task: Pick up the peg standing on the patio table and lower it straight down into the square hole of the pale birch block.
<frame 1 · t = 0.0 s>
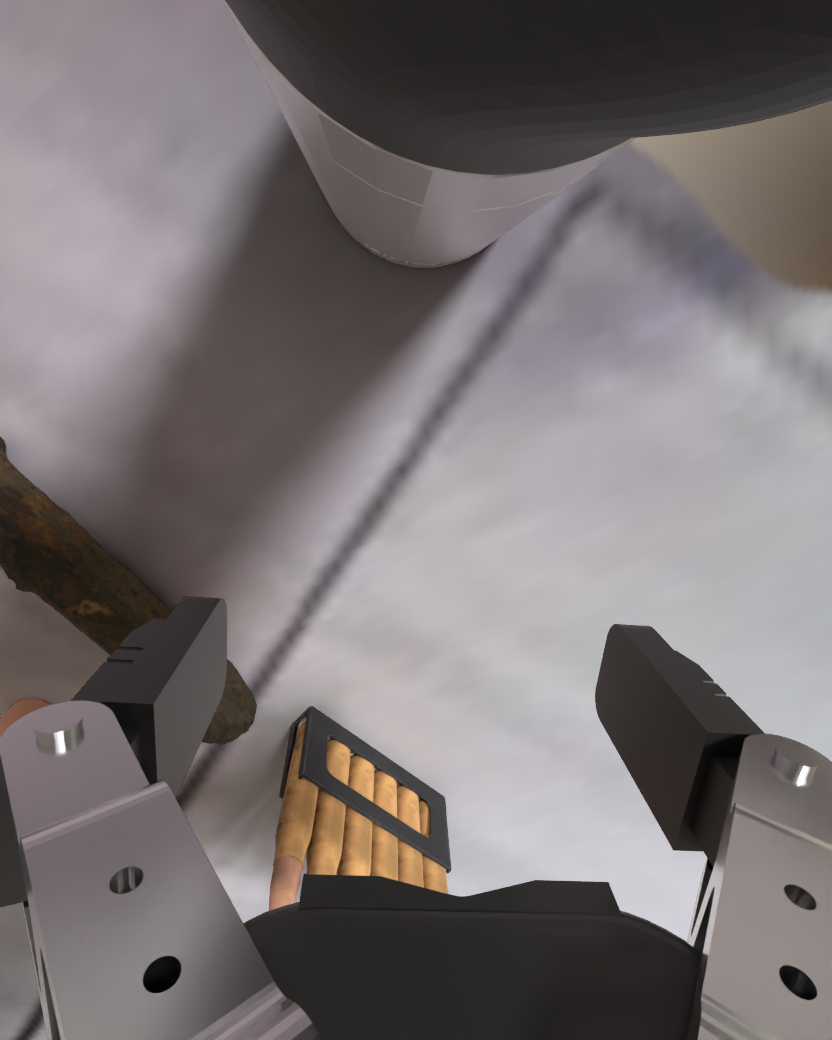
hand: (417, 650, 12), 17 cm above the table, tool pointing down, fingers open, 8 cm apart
peg: (36, 720, 32), on the table
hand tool: (138, 579, 30), on the table
ammunition clip: (371, 760, 34), on the table
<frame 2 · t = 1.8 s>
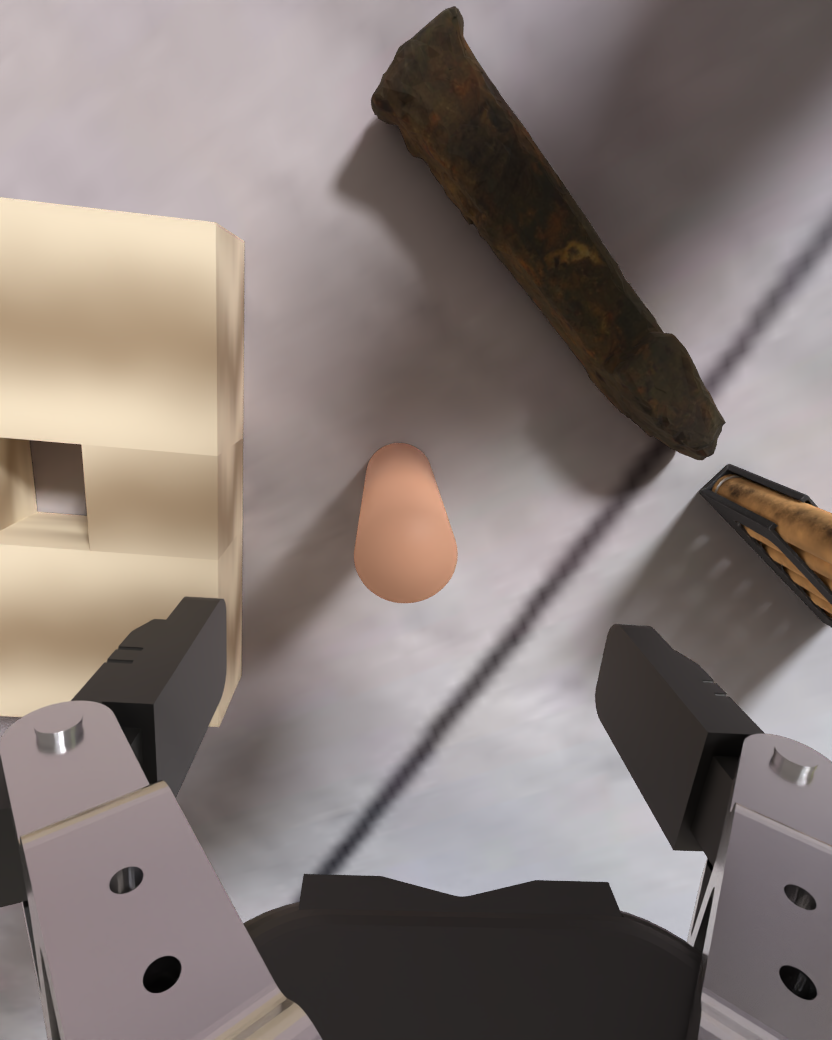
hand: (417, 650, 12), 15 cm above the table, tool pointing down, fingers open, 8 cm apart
peg: (399, 475, 26), on the table
hole block: (81, 470, 25), on the table
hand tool: (562, 274, 24), on the table
ammunition clip: (776, 546, 28), on the table
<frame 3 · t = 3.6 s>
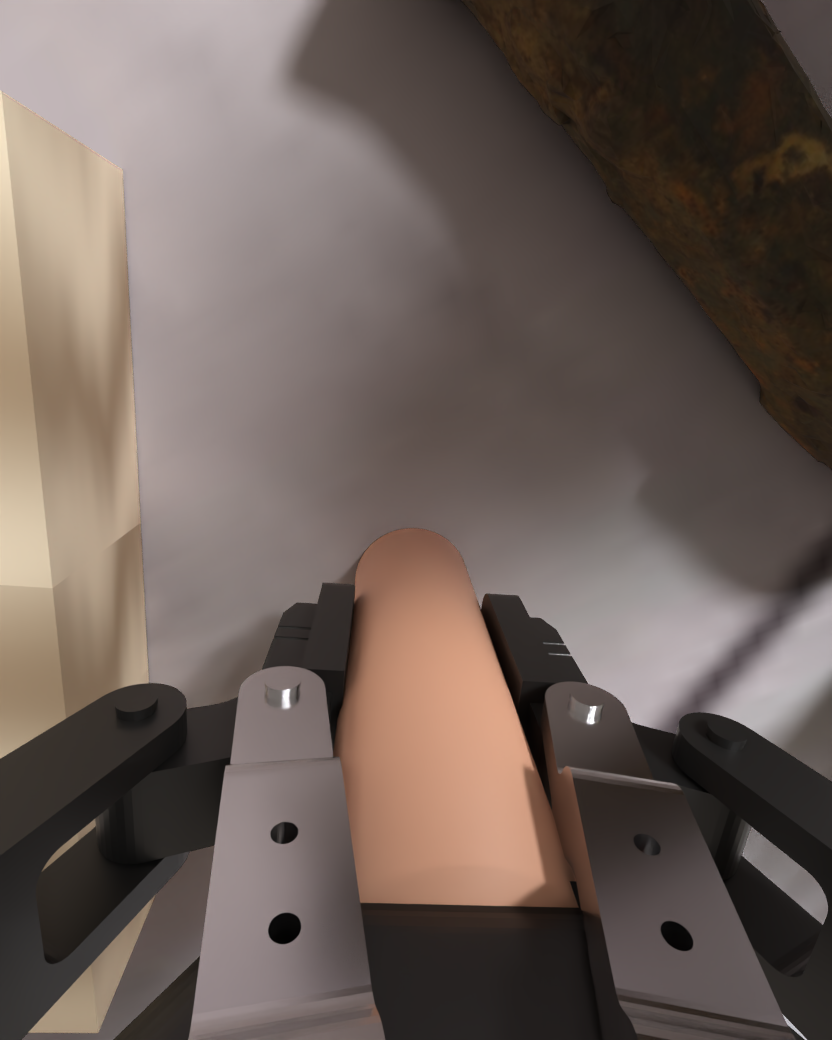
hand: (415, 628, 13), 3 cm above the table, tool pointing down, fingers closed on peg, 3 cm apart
peg: (411, 581, 15), on the table, touching gripper
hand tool: (715, 222, 13), on the table
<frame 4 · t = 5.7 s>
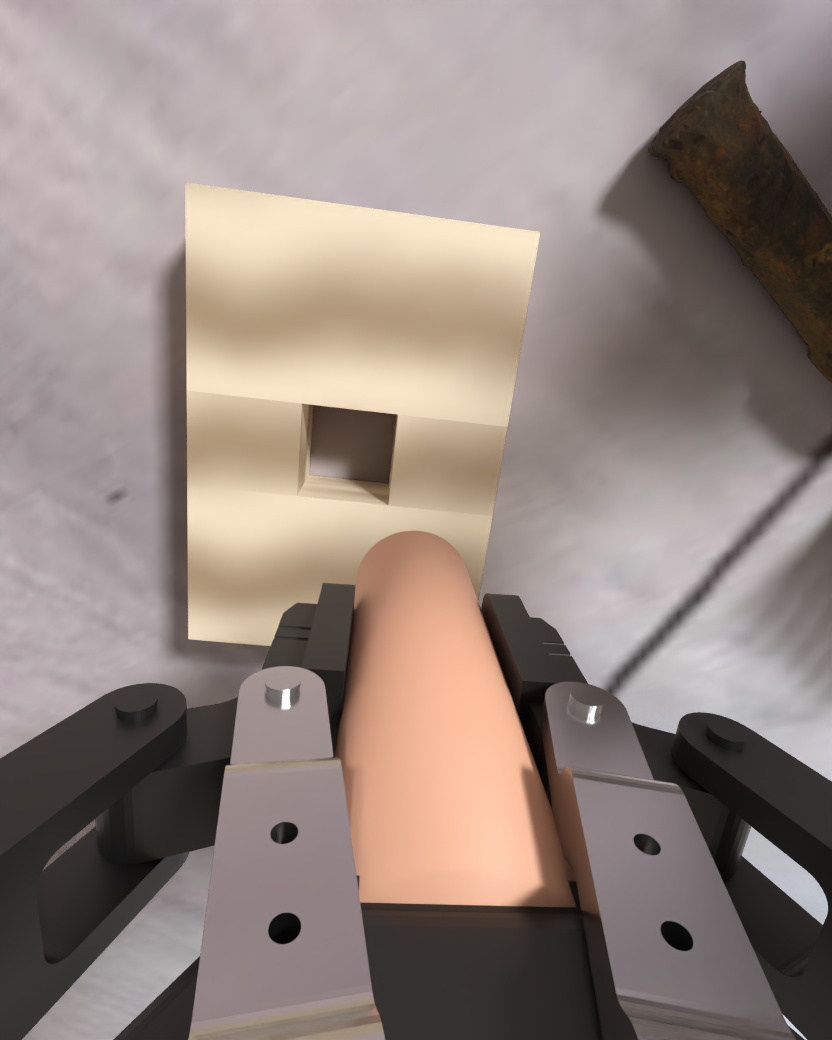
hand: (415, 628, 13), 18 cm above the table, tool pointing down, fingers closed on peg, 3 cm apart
peg: (412, 583, 15), point 15 cm above the table, touching gripper
hole block: (352, 439, 29), on the table
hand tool: (787, 270, 28), on the table
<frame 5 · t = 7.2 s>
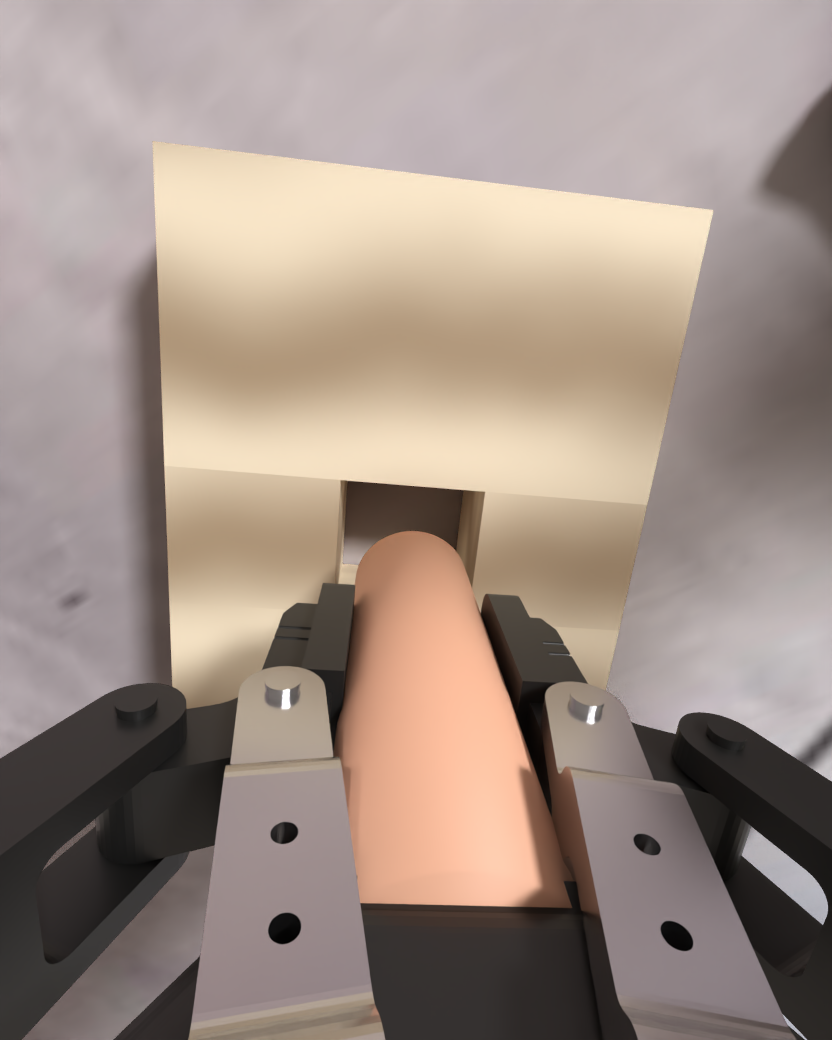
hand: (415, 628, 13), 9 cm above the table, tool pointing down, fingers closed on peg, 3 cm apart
peg: (411, 583, 15), point 6 cm above the table, touching gripper
hole block: (403, 514, 21), on the table
when the fingers open (5 cm above the table, at t = 8.1 s): peg drops 2 cm, resting in hole block.
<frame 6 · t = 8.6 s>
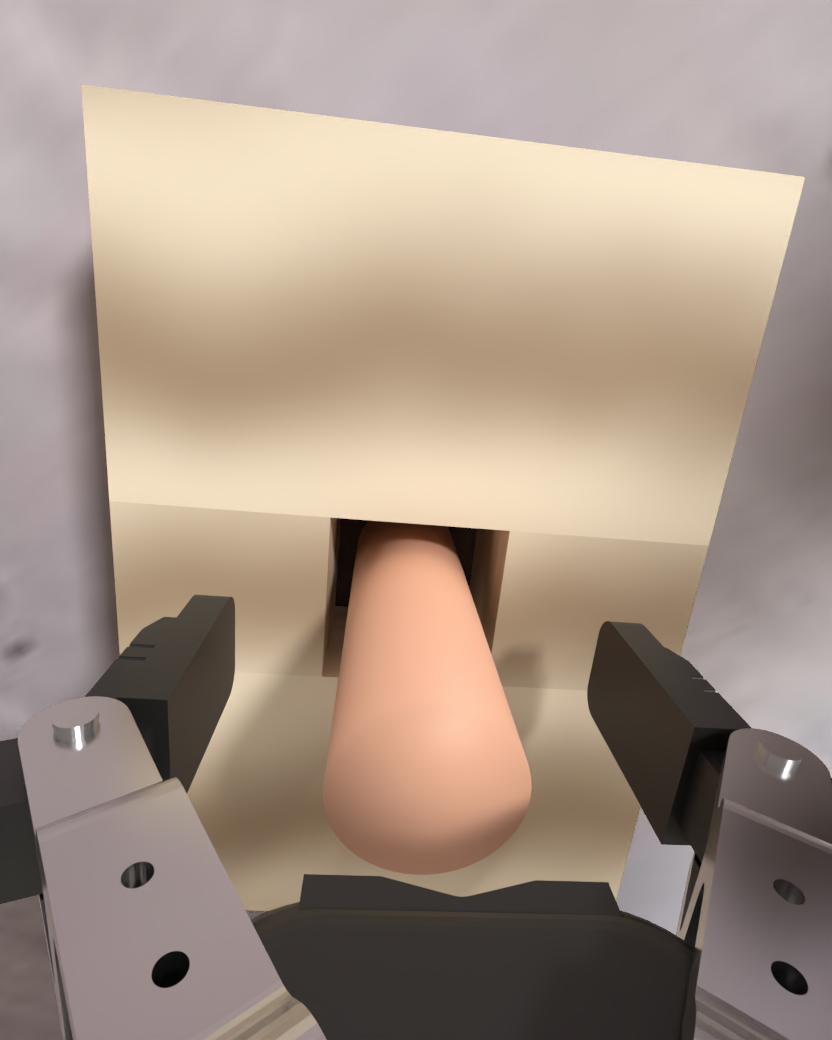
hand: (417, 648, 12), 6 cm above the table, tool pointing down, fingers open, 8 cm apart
peg: (405, 550, 18), resting in hole block
hole block: (406, 548, 18), on the table
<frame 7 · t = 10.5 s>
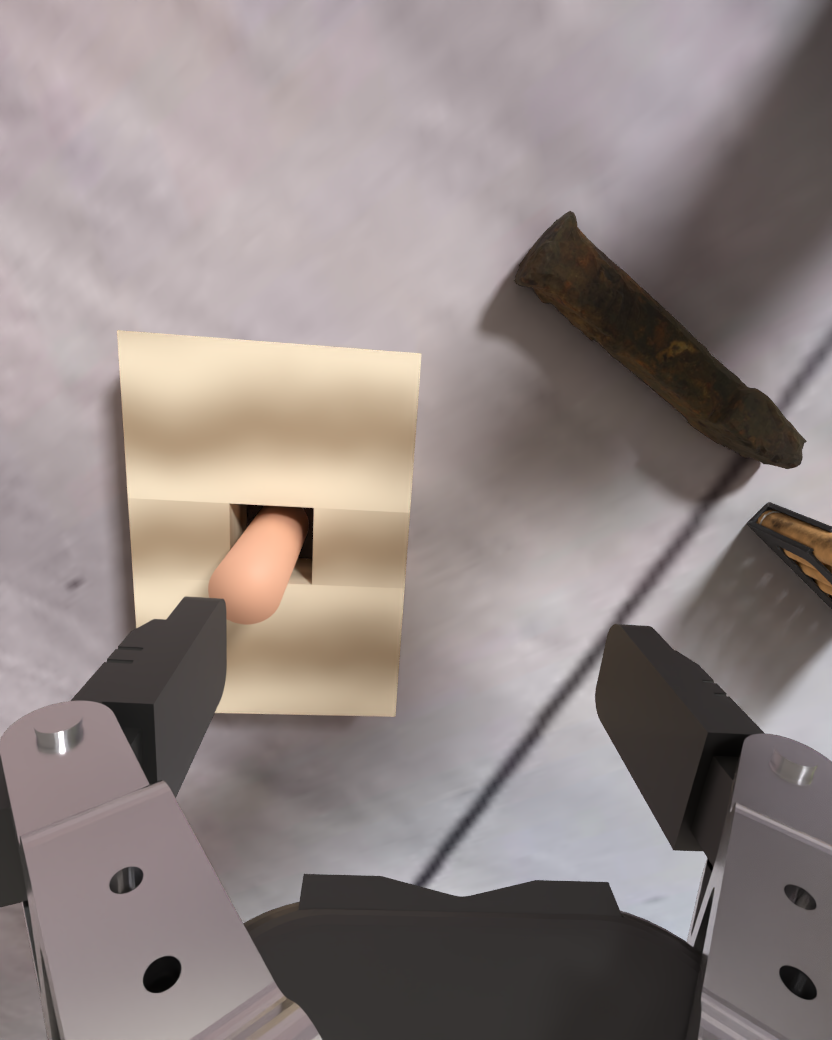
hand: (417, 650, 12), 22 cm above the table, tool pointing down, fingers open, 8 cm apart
peg: (282, 524, 33), resting in hole block
hole block: (283, 523, 33), on the table
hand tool: (655, 353, 32), on the table
ammunition clip: (806, 563, 37), on the table
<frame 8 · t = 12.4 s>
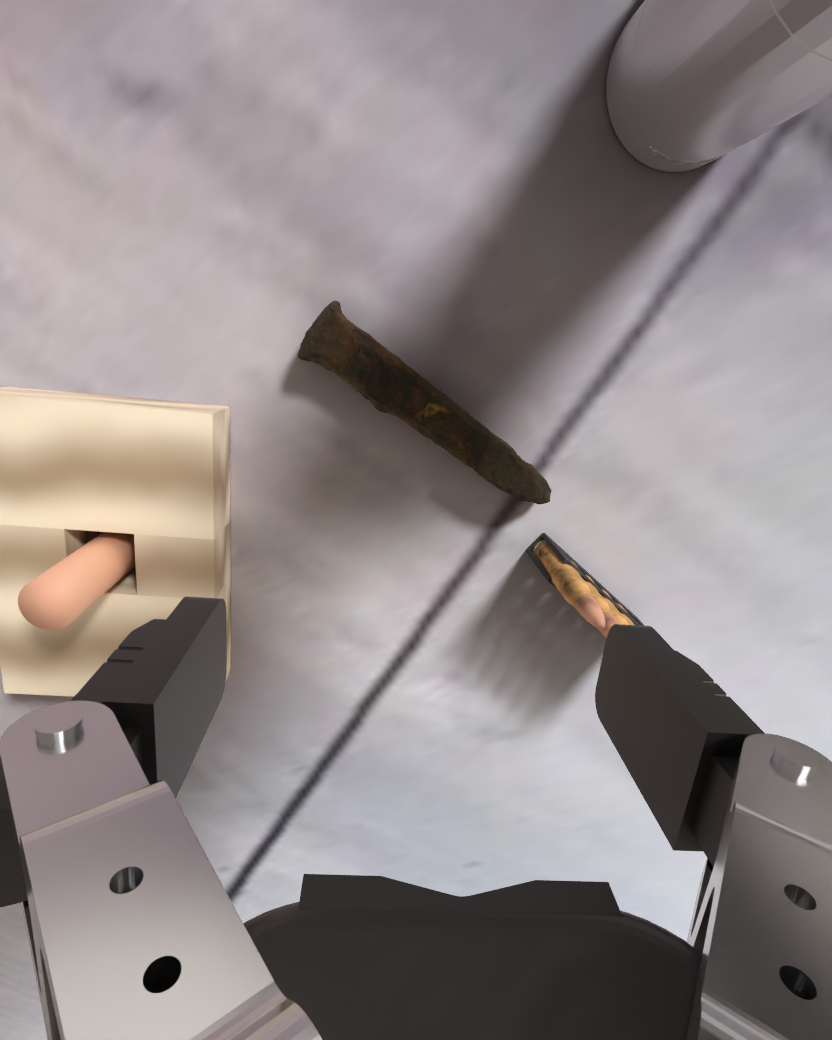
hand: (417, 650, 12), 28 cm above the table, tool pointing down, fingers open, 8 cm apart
peg: (128, 542, 40), resting in hole block
hole block: (128, 541, 40), on the table
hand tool: (438, 406, 39), on the table
ammunition clip: (582, 584, 43), on the table
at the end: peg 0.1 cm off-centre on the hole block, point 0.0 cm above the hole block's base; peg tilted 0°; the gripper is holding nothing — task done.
